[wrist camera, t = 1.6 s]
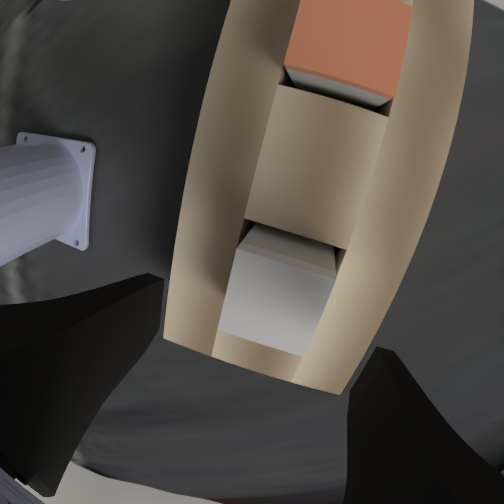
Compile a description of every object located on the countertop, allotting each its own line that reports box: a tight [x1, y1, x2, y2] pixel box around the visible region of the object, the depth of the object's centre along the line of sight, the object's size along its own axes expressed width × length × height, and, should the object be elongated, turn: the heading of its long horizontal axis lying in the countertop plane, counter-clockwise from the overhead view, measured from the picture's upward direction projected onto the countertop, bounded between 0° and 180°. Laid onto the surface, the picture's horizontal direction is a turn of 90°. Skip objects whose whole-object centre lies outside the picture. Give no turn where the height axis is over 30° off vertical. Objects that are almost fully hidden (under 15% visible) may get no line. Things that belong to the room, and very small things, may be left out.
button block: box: [163, 0, 474, 395], centre depth 14 cm, size 10×21×5 cm, turn 167°
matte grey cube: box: [218, 222, 336, 357], centre depth 14 cm, size 4×4×5 cm
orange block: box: [283, 0, 413, 110], centre depth 10 cm, size 4×4×5 cm
